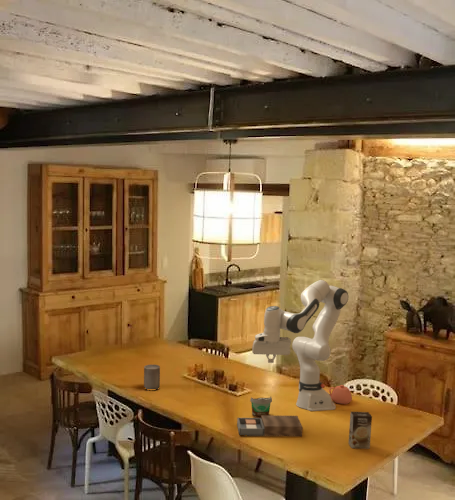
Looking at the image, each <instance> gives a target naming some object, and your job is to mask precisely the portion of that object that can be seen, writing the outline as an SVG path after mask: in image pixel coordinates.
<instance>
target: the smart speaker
mask: <svg viewBox="0 0 455 500" xmlns="http://www.w3.org/2000/svg"><path fill="white" fill-rule="evenodd" d="M160 379H161V367H160V365H158V364H147V365H144V366H143V388H144V387H145V388H146V389H158V388H159V387H161V386H160V383H161V382H160V381H161V380H160ZM158 390H159V389H158Z"/></svg>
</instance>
